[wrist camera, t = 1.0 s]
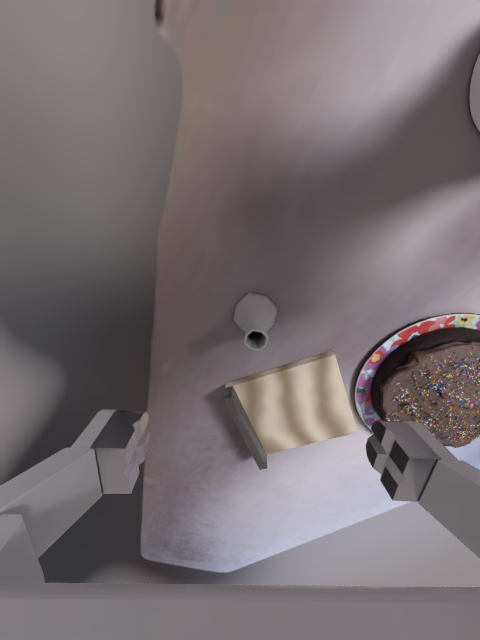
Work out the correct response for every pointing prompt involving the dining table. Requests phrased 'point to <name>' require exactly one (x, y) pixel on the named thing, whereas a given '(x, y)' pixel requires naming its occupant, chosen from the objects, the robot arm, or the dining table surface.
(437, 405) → the chocolate cake
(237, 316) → the flask
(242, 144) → the dining table surface
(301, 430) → the shelf board
